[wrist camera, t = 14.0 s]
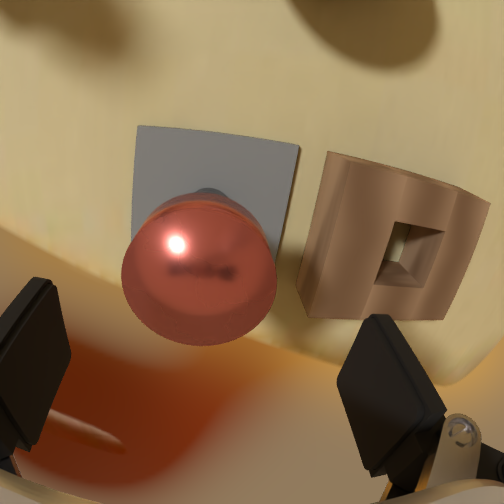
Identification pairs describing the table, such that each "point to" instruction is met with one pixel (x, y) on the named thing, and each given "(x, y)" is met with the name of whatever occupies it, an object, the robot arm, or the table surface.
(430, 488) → the robot arm
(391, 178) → the eye block
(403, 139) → the table surface
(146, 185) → the slate mat
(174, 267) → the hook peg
